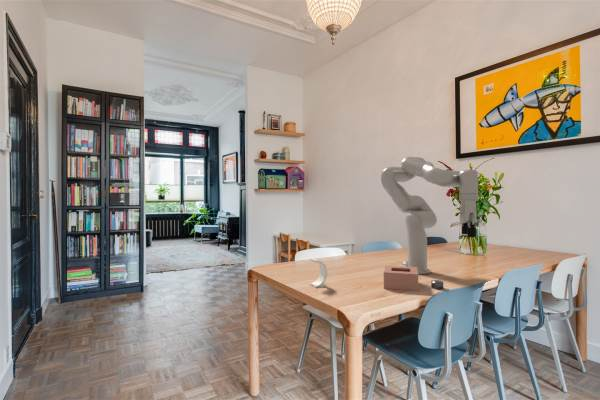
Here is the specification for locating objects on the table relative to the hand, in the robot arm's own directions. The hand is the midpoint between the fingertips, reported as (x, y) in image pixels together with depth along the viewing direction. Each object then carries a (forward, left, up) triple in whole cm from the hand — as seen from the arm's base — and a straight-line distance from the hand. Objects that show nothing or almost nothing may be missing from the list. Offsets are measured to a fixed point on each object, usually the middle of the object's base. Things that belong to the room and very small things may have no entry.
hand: (468, 235), depth 146 cm
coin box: (-16, -27, -22) cm, 38 cm away
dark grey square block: (-4, -18, -22) cm, 28 cm away
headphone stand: (-38, -56, -22) cm, 71 cm away
